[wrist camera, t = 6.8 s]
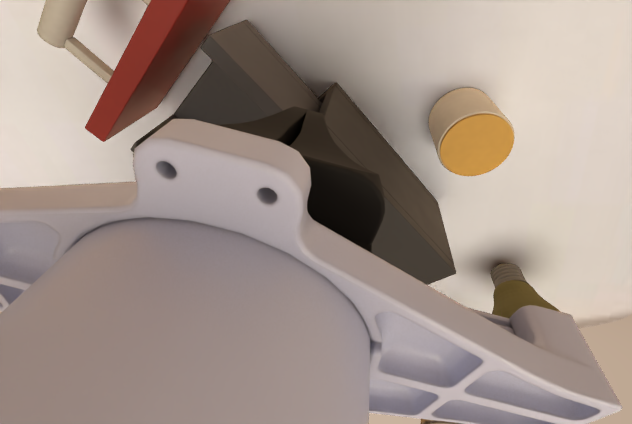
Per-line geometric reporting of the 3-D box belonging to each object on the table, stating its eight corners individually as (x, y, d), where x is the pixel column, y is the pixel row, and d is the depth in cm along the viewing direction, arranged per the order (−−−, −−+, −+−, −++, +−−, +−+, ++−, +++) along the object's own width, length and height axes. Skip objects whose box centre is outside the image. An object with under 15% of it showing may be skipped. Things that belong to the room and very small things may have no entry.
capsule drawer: (79, 41, 21) (-3, 62, 16) (145, -119, 15) (48, -155, 11) (261, 197, 27) (238, 244, 22) (355, 122, 21) (349, 164, 17)
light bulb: (456, 273, 30) (484, 380, 22) (498, 236, 26) (548, 348, 19) (505, 292, 30) (549, 403, 23) (552, 259, 27) (622, 376, 19)
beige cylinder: (418, 137, 22) (426, 168, 19) (444, 80, 19) (458, 104, 16) (472, 150, 22) (490, 184, 19) (505, 95, 19) (532, 123, 16)
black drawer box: (236, 174, 26) (196, 233, 21) (336, 81, 20) (320, 127, 15) (333, 257, 31) (323, 325, 25) (437, 201, 25) (456, 273, 19)
